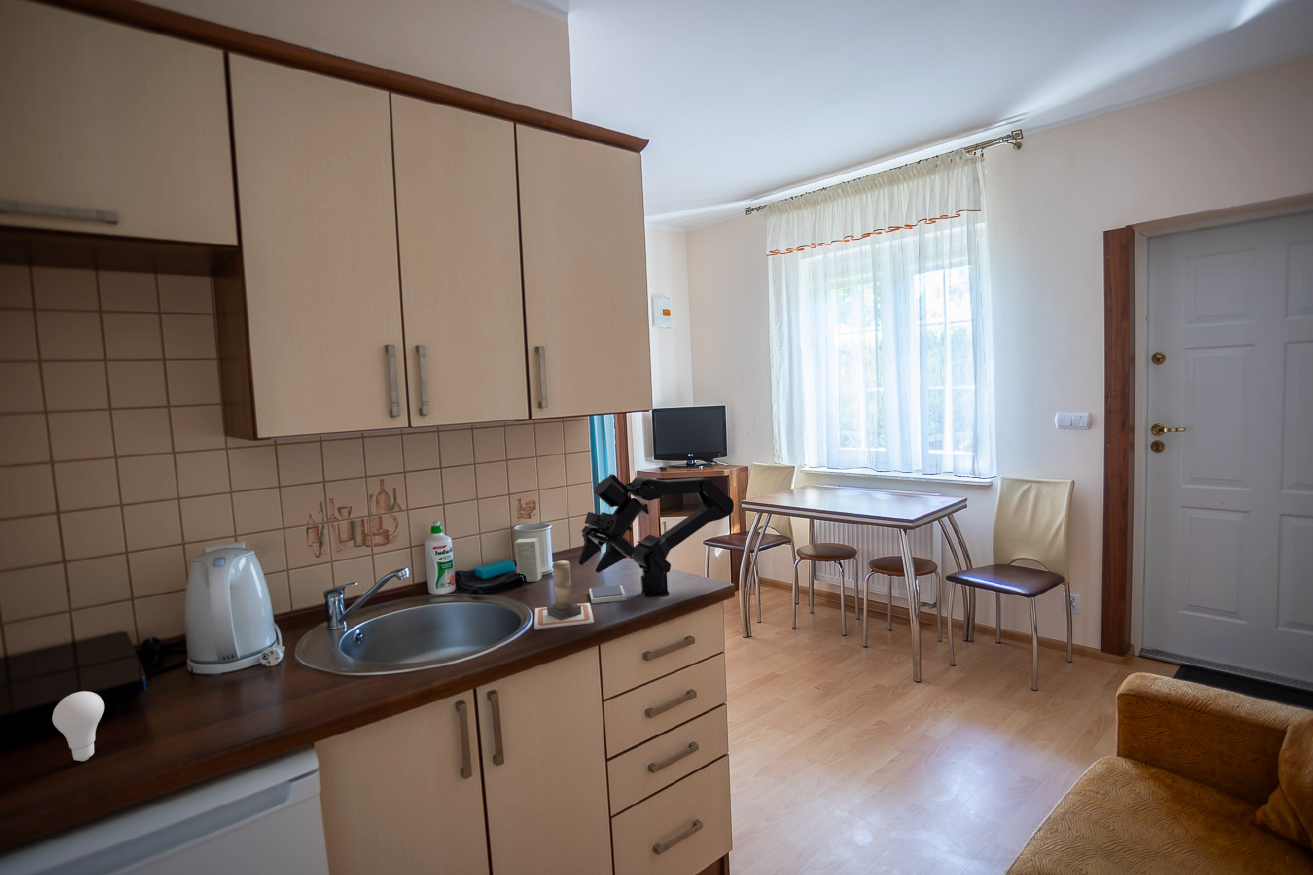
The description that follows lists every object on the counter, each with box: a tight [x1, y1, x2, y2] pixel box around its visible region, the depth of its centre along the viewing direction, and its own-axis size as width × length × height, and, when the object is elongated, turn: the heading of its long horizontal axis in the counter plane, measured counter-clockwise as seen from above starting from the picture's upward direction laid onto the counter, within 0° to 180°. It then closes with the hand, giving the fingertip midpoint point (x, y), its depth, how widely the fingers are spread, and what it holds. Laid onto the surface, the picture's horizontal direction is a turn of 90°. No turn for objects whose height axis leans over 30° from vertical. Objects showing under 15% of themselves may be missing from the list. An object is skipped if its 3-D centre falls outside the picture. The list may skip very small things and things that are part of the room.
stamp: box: [546, 559, 581, 620], centre depth 158 cm, size 6×6×13 cm
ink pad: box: [588, 585, 627, 604], centre depth 172 cm, size 9×9×2 cm
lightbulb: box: [52, 691, 105, 762], centre depth 102 cm, size 6×6×11 cm
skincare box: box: [514, 537, 543, 583], centre depth 191 cm, size 6×4×12 cm
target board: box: [533, 602, 595, 630], centre depth 159 cm, size 14×14×1 cm
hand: (588, 567), depth 163 cm, fingers open, 9 cm apart
